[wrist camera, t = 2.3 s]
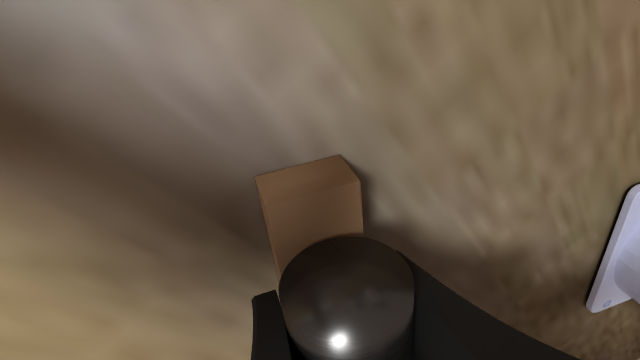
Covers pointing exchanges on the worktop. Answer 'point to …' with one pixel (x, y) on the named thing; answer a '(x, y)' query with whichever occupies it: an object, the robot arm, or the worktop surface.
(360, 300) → the dark grey round-headed part
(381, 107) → the worktop surface
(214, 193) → the worktop surface
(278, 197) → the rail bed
